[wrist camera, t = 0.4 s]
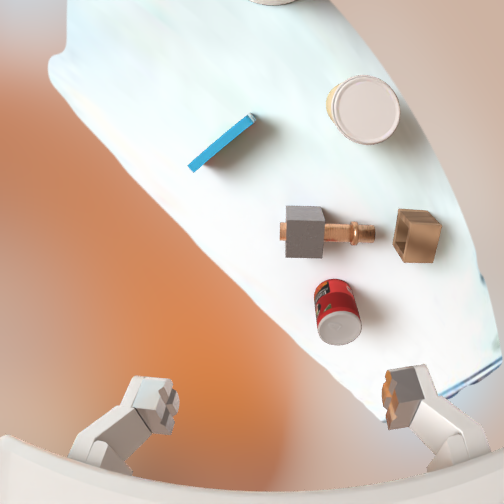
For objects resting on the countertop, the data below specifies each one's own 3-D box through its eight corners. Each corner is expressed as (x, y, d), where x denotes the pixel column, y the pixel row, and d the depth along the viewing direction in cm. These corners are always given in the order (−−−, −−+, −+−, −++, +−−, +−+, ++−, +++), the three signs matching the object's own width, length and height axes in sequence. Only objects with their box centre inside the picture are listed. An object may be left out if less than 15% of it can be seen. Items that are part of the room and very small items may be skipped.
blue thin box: (202, 164, 53) (192, 173, 47) (196, 157, 52) (186, 166, 47) (256, 119, 49) (253, 122, 43) (250, 112, 48) (247, 115, 43)
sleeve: (286, 205, 55) (286, 219, 50) (320, 206, 55) (325, 221, 49) (285, 240, 58) (285, 257, 53) (318, 240, 58) (322, 258, 52)
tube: (280, 215, 55) (280, 225, 51) (371, 218, 53) (377, 228, 50) (279, 237, 56) (279, 247, 53) (368, 239, 55) (373, 249, 52)
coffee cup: (383, 91, 44) (411, 93, 33) (365, 141, 48) (387, 156, 38) (331, 69, 43) (345, 63, 33) (312, 121, 48) (322, 130, 37)
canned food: (319, 274, 61) (325, 309, 51) (357, 281, 61) (369, 317, 52) (308, 305, 65) (312, 342, 55) (344, 311, 65) (352, 348, 55)
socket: (398, 208, 53) (411, 223, 47) (426, 210, 53) (441, 225, 47) (392, 244, 57) (403, 262, 51) (419, 245, 56) (432, 263, 50)
